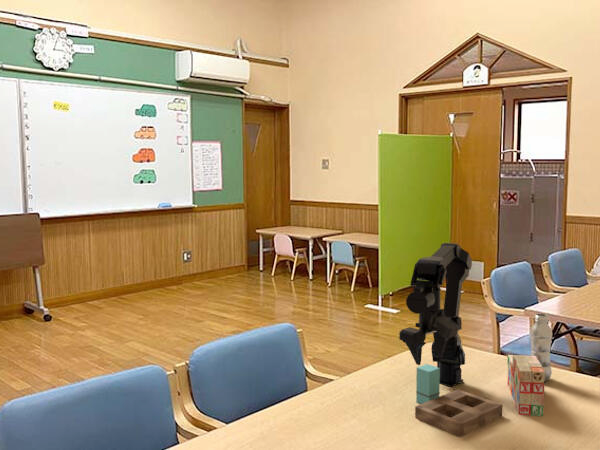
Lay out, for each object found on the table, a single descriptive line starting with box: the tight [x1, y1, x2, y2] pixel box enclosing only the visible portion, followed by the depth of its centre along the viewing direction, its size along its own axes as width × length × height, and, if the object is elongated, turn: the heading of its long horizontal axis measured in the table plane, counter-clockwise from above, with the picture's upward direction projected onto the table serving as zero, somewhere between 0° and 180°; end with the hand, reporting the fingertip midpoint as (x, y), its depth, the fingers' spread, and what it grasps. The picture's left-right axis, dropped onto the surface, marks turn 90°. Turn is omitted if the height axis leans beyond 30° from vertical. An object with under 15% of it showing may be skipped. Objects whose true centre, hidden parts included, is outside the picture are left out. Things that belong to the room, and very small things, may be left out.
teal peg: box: [415, 363, 441, 405], centre depth 161 cm, size 4×4×10 cm
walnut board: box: [414, 389, 503, 438], centre depth 152 cm, size 14×18×3 cm
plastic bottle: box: [529, 313, 553, 382], centre depth 176 cm, size 6×7×20 cm
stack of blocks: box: [507, 354, 545, 417], centre depth 162 cm, size 21×6×12 cm, turn 168°
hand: (429, 360), depth 160 cm, fingers open, 9 cm apart
